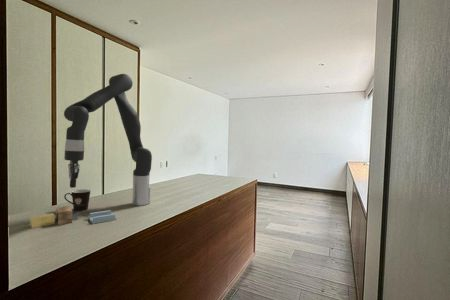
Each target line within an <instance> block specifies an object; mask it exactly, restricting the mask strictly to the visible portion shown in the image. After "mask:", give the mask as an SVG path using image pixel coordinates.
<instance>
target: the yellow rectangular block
mask: <svg viewBox="0 0 450 300" xmlns="http://www.w3.org/2000/svg"><path fill="white" fill-rule="evenodd" d="M55 216H56V214H54V213H45V214H39V215H33V216H30V217H29V227H31V229H35V228H39V227H44V226H45V227H46V226H51V225H54V224H55ZM55 225H56V224H55Z"/></svg>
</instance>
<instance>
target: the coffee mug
mask: <svg viewBox="0 0 450 300" xmlns="http://www.w3.org/2000/svg"><path fill="white" fill-rule="evenodd" d="M67 195H70V196H71V198H72V201H70V200H68V198H67V197H66V196H67ZM90 196H91V189H87V188H85V189H84V188H82V189H74V190H72V191H71V193H70V192H67V193H65V194H64V197H63V198H64V199H65V201H66V202H67V203H70V204H71V205H72V206H73V212H85V211H88V209H89V202H90Z"/></svg>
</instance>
